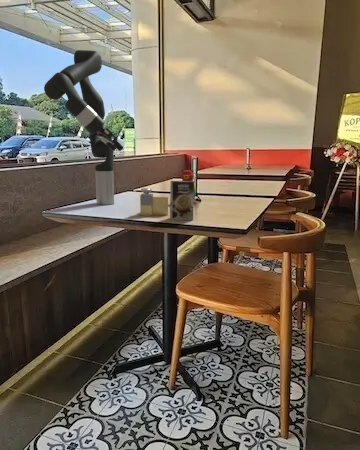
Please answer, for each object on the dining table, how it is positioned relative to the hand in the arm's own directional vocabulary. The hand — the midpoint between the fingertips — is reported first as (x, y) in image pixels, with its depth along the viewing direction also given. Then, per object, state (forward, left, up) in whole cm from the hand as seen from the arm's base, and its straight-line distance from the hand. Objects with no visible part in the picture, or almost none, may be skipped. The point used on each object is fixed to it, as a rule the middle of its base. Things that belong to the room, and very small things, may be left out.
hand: (118, 149), depth 153 cm
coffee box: (+3, +27, -29) cm, 39 cm away
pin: (-7, +11, -29) cm, 31 cm away
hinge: (-10, +14, -29) cm, 33 cm away
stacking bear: (-43, +28, -29) cm, 59 cm away
